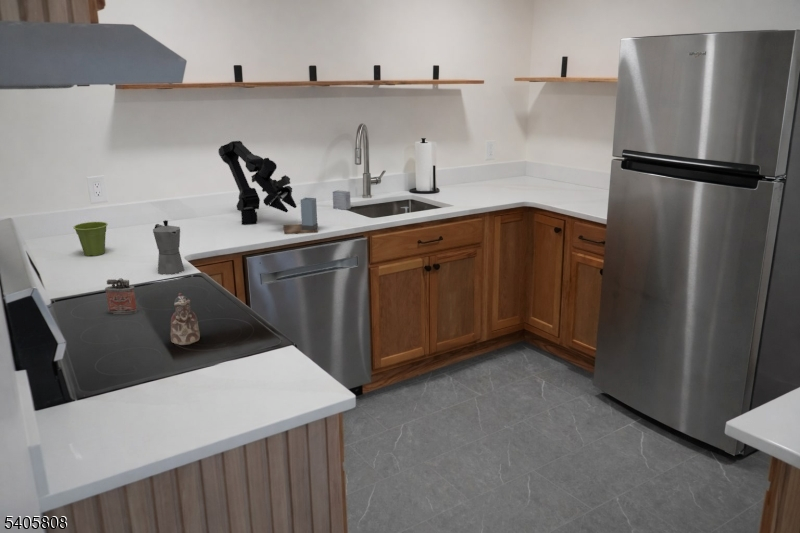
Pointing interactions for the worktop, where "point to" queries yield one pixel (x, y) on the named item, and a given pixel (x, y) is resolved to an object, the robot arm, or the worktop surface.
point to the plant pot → (92, 237)
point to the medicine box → (341, 200)
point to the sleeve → (309, 214)
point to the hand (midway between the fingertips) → (291, 209)
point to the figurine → (184, 322)
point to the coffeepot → (168, 248)
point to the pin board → (296, 229)
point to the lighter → (120, 297)
